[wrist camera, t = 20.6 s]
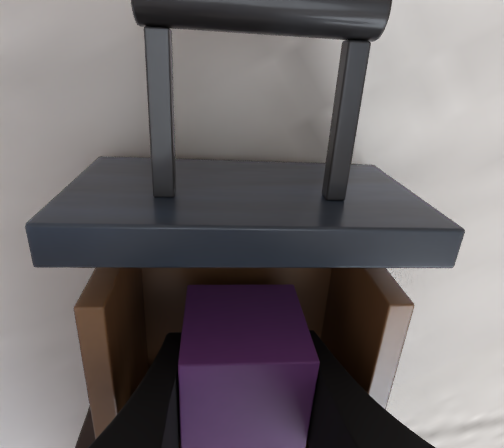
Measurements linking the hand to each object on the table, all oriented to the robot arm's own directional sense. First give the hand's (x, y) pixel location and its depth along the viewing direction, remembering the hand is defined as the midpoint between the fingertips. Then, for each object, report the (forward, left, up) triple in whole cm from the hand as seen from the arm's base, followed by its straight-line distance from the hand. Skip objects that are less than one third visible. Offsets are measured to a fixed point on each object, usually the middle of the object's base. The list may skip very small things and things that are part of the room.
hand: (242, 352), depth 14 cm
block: (0, 0, -1) cm, 1 cm away
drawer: (-2, +2, -4) cm, 5 cm away
